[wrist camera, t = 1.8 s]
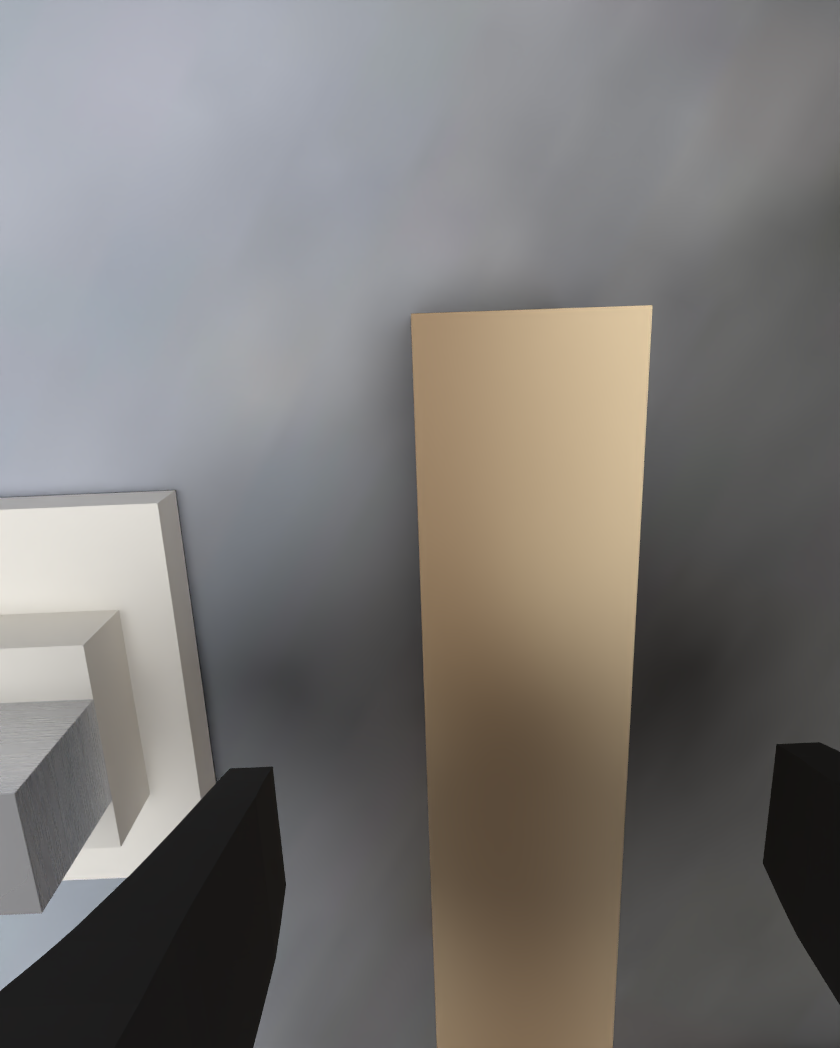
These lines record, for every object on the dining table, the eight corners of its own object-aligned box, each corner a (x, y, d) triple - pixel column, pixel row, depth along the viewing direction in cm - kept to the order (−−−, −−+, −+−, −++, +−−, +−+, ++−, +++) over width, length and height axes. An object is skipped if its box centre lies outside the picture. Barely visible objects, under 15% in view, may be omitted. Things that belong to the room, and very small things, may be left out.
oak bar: (563, 311, 13) (651, 304, 8) (550, 926, 17) (606, 1166, 12) (410, 316, 13) (411, 313, 8) (432, 930, 17) (441, 1173, 12)
